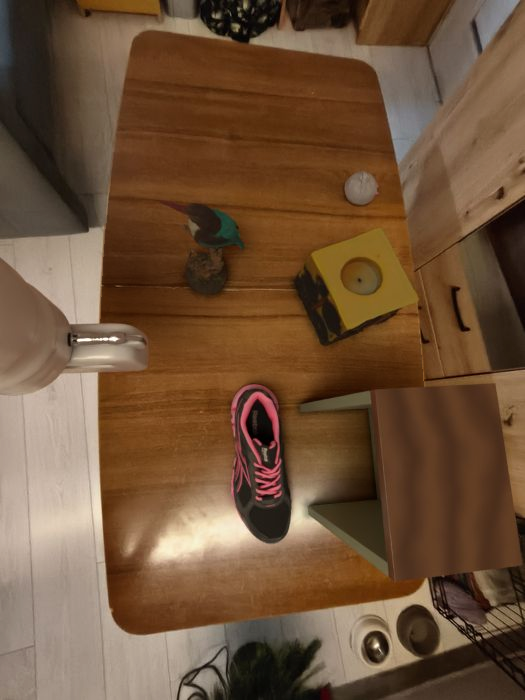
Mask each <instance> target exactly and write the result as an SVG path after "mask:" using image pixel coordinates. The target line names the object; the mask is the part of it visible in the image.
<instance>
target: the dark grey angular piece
mask: <svg viewBox="0 0 525 700" xmlns="http://www.w3.org/2000/svg"><path fill="white" fill-rule="evenodd" d="M299 407H300V413H309V412H310V413H313V412H327V411H344V410H345V411H346V410H362V409H363V410H364V409H365V410H366V409H367V411H368V420H369V430H370V431H369V432H370V442H371V450H372V459H373V470H374V479H375V480H374V482H375V491H376V499H368V500H367V499H366V500H357V501H356V500H355V501H345V502H336V503H335V502H334V503H325V504H315V505H308V506H307V514H308V516H309V517H311V518H312V519H313V520H314V521H316V522H317V523H318V524H320V526H322V527H324V528H325V529H326V530H328V531H329V532H330V533H331V534H333V535H334V536H335V537H336V538H338V539H339V540H341V541H342V542H343V543H344V544H345V545H347V546H348V547H349V548H351V549H352V550H353V551H355V552H356V553H357V554H358V555H360V556H361V557H362V558H363V559H365V561H367V562H369V563H370V564H371V565H373V566H374V567H375V568H376V569H377V570H378V571H380V572H381V573H383V574H384V575H385V576H387V577H388V578H389V575H388V565H387V555H386V545H385V535H384V526H383V516H382V506H381V496H380V486H379V476H378V466H377V456H376V446H375V437H374V427H373V417H372V407H371V397H370V390H366V391H360V392H355V393H349V394H345V395H339V396H335V397H330V398H324V399H320V400H319V399H318V400H314V401H309V402H304V403H301V404H300V405H299Z"/></svg>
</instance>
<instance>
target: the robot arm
mask: <svg viewBox="0 0 525 700" xmlns="http://www.w3.org/2000/svg"><path fill="white" fill-rule="evenodd" d="M149 348H150V347H149V338H148V336H147V335H146V334H145V333H144V332H143V331H141V330H140V329H139V328H138V327H136V326H133V325H131V324H127V323H117V322H115V323H114V322H107V323H104V322H103V323H70V321H69V319H68V318H67V316H66V315H65V313H64V312H63V311H62V309H60V308H59V307H58V306H57V305H56V304H55V303H54V302H53V301H52V300H50V299H49V298H48V297H47V296H46V295H44V294H43V293H42V292H41V291H40V290H39V289H38V288H36V287H35V286H33V284H30V283H29V282H27V281H26V280H25V278H23V276H22V275H21V274H20V273H19V272H18V271H17V270H16V269H15V268H14V267H12V266H11V265H10V264H9V263H8V262H6V261H5V260H4V259H3V258H1V257H0V395H1V396H8V397H9V396H12V397H16V396H24V395H30V394H33V393H35V392H38V391H41V390H42V389H44V388H46V387H48V386H49V385H51V384H52V383H53V382H54V381H55V380H57V379H58V378H59V377H60V376H61V375H68V374H92V373H94V374H95V373H117V372H120V373H121V372H138V371H144V370H146V369H148V367H149V364H150V363H149V360H150V356H149V355H150V350H149Z"/></svg>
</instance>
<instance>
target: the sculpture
mask: <svg viewBox="0 0 525 700" xmlns="http://www.w3.org/2000/svg"><path fill="white" fill-rule="evenodd" d="M156 201H157V202H159V203H161V204H162V205H164V206H167V207H169V208H171V209H173V210H175V211H177V212H179V213H180V214H182V215H185V216H187V217H188V218H187V221H188V226H187V224H185V223H184V224H183V223H180V224H179V226H180V227H181V229H182V231H184V232H185V233H187V234H188V235H190V236H191V237H192V238H193V240H194V242H195V243H196V244H197V245H199V246H200V247H205V248H206V250H207V252H200V253H197V252H196V251H195V250H196V248H197V246H195V247H192V248H191V250H187V251H186V252H187V255H188V256H187V260H186V262H187V263H186V264H185V268H184V269H185V270H184V276H185V279H186V281H187V283H188V285H189V288H190V289H192V290H194V291H195V292H197V293H199V294H205V295H215V294H219V293H220V292H221V291H222V290H223V288H224V285H225V284H226V281H227V277H228V271H227V266H226V263H225V262H224V260H223V258H222V256H223V253H224V250H223V247H227V246H228V247H229V246H237V247H239V248H240V249H241V251H245V248H246V247H245V242H244V241H243V239H242V238H241V236H240V232H239V230H240V229H239V226H238V223H237V222H236V220H235V219H233V217H231V216H230V215H229V214H227V213H225V212H224V211H222V210H219V209H218V208H211V207H209V206H208V205H207V204H203V203H198V202H197V203H196V202H191V203H189V204H181V203H177V202H171V201H166V200H161V199H156ZM192 254H195V255H193V256H191V255H192Z"/></svg>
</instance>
